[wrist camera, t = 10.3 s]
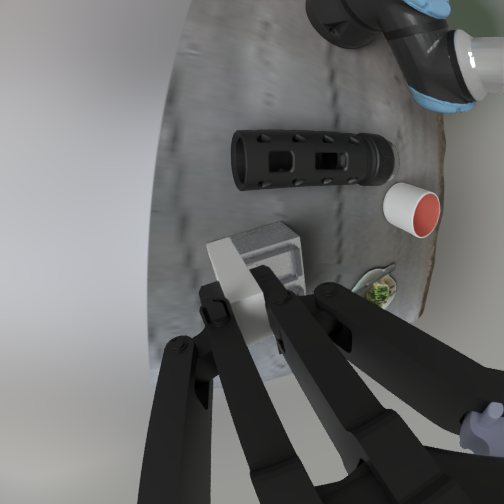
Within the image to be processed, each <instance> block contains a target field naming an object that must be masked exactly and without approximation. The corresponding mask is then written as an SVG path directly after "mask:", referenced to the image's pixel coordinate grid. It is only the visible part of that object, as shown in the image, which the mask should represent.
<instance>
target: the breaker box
mask: <svg viewBox="0 0 504 504" xmlns="http://www.w3.org/2000/svg"><path fill="white" fill-rule="evenodd" d="M225 238H227V237H225ZM229 238H230V240H231V241H232V243H233V244H234V246H235V248H236V249H237V251H238V253H239V254H240V256H241V258H242V259H243V261H244V263H245V264H246V266H249V265H252V264H256V266H257V267H258V266H260V265H265V266H267V267H270V268H271V270H272V271H273V272H274V274H275V275H276V276H277V278H278V279H279V280H280V282H281V283H282V284H283V285H284V287H285V288H286V289H287V290H290V291H292V292H294V293H295V294H296V295H298V296H304V295H306V289H305V279H304V269H303V260H302V251H301V242H300V236H298V235H297V234H296V233H295V232H293V231H292V230H291V229H290V228H288V227H287V226H286V225H284V224H283V223H282V222H281V221H280V222H277V223H273V224H270V225H266V226H263V227H259V228H256V229H252V230H249V231H246V232H242V233H239V234H235V235H232V236H229ZM222 239H224V238H222ZM219 240H221V239H219ZM215 241H218V240H215ZM215 241H212V242H215ZM212 242H209V243H212ZM209 243H206V244H209ZM209 257H210V256H209ZM210 260H211V259H210ZM211 264H212V262H211ZM212 267H213V265H212ZM213 271H214V268H213ZM214 274H215V271H214ZM215 278H216V281H218V280H217V277H216V274H215Z"/></svg>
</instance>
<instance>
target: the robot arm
mask: <svg viewBox="0 0 504 504" xmlns="http://www.w3.org/2000/svg"><path fill="white" fill-rule="evenodd" d="M448 3H449V0H306V12H307V16H308V18H309V20H310V22H311V24H312V25H313V27H314V28H315V29H316V30H317V32H318V33H319V34H320V35H321V36H322V37H324V38H325V39H326V40H328V41H329V42H331V43H333V44H335V45H337V46H339V47H343V48H348V49H353V48H358V47H361V46H364V45H366V44H368V43H370V42H371V41H372V40H373V39H374V38H375V37H376V36H377V35H378V34H379V33H380V32H381V31H382V32H383V34H384V36H385V37H386V39H387V41H388V43H389V45H390V47H391V49H392V51H393V53H394V55H395V57H396V59H397V62H398V64H399V66H400V68H401V70H402V73H403V75H404V77H405V83H406V85H407V86H408V87H409V89H410V91H411V93H412V96H413V98H414V100H415V101H416V102H417V103H418V104H419V105H420V106H422V107H423V108H425V109H428V110H431V111H435V112H441V113H455V112H457V111H458V112H465V111H469V110H471V109H472V108H473V107H474V106H475V105H476V101H482V100H483V99H484V98H485V96H486V95H487V93H488V92H493V93H504V37H484V38H473V37H471V36H469V35H468V34H467V33H465V32H464V31H463V30H450V28H449V26H448V24H447V21H446V19H445V18H446V17H447V16H448V15H449V14H450V5H449V4H448ZM206 247H207V250H208V253H209V256H210V259H211V262H212V265H213V268H214V271H215V274H216V277H217V280H218V281H216V282H213V283H210V284H207V285H204V286H201V288H200V291H199V296H200V299H201V304H202V305H201V307H200V311H199V312H200V314H201V317H202V319H203V321H204V324H205V328H204V329H203V331H202V332H201V333H200V334H198V335H197V336H195V337H193V338H191V337H189V336H178V337H175V338H173V339H171V340H170V341H169V342H168V343H167V344H166V347H165V349H164V353H163V358H162V362H161V367H160V371H159V376H158V381H157V385H156V390H155V395H154V400H153V405H152V410H151V416H150V421H149V427H148V432H147V438H146V444H145V451H144V457H143V463H142V470H141V478H140V485H139V493H138V502H137V504H210V486H211V485H210V482H211V476H210V475H211V429H212V428H211V427H212V400H213V378H214V377H216V376H217V375H219V377H220V380H221V383H222V387H223V390H224V393H225V396H226V400H227V403H228V406H229V410H230V413H231V416H232V419H233V422H234V425H235V428H236V431H237V434H238V436H239V440H240V443H241V446H242V448H243V451H244V454H245V457H246V460H247V462H248V465H249V468H250V477H251V481H252V483H253V486H254V489H255V491H256V494H257V497H258V499H259V502H260V504H504V371H501V370H496V369H491V368H486V367H484V366H482V365H480V364H478V363H477V362H475V361H474V360H472V359H470V358H468V357H467V356H465V355H463V354H461V353H460V352H458V351H456V350H455V349H453V348H451V347H449V346H448V345H446V344H444V343H443V342H441V341H439V340H437V339H436V338H434V337H432V336H430V335H429V334H427V333H425V332H423V331H422V330H420V329H418V328H416V327H415V326H413V325H411V324H409V323H408V322H406V321H404V320H402V319H401V318H399V317H397V316H395V315H393V314H392V313H390V312H388V311H386V310H385V309H383V308H381V307H379V306H377V305H376V304H374V303H372V302H370V301H369V300H367V299H365V298H363V297H361V296H360V295H358V294H356V293H354V292H352V291H351V290H349V289H347V288H345V287H343V286H342V285H340V284H337V283H335V282H326V283H322V284H320V285H318V286H317V287H316V288H315V290H314V294H311V295H304V296H298V295H296V294H295V293H294V292H292V291H290V290H287V289H286V288H285V287H284V285H283V284H282V283H281V282H280V280H279V279H278V278H277V276H276V275H275V274H274V272H273V271H272V270H271V268H270V267H267V266H265V265H260V266H258V267H255V268H252V269H248V267H247V266H246V264H245V263H244V261H243V259H242V258H241V256H240V254H239V253H238V251H237V249H236V248H235V246H234V244H233V243H232V241H231V240H230V238H229V237H227V238H224V239H221V240H218V241H215V242H212V243H209V244H206ZM272 331H273V333H274V335H275V337H276V341H277V346H278V350H279V354H283V356H284V357H285V359H286V361H287V363H288V365H289V366H290V368H291V370H292V372H293V374H294V375H295V377H296V379H297V381H298V383H299V384H300V386H301V388H302V390H303V391H304V393H305V395H306V397H307V399H308V400H309V402H310V404H311V405H312V407H313V409H314V411H315V413H316V414H317V416H318V418H319V420H320V421H321V423H322V425H323V427H324V428H325V430H326V432H327V433H328V435H329V437H330V439H331V440H332V442H333V443H334V446H335V447H336V449H337V451H338V452H339V454H340V456H341V458H342V461H343V463H344V466H345V469H346V471H347V473H348V476H347V477H346V478H344V479H343V480H341V481H338V482H334V483H329V484H325V485H320V486H315V487H314V486H313V484H312V482H311V480H310V478H309V476H308V474H307V472H306V470H305V468H304V466H303V464H302V462H301V460H300V459H299V457H298V456H297V454H296V452H295V450H294V448H293V446H292V444H291V442H290V440H289V438H288V436H287V434H286V432H285V430H284V428H283V425H282V423H281V421H280V419H279V417H278V415H277V412H276V410H275V408H274V406H273V404H272V402H271V399H270V397H269V395H268V393H267V391H266V388H265V386H264V384H263V382H262V379H261V377H260V375H259V373H258V370H257V368H256V366H255V364H254V361H253V359H252V357H251V354H250V352H249V350H248V346H250V345H253V344H256V343H259V342H261V341H264V340H267V339H269V338H272V337H273V333H272ZM347 360H348V361H350V362H351V363H352V364H354V365H355V366H356V367H358V368H359V369H361V370H362V371H363V372H365V373H366V374H367V375H368V376H370V377H371V378H372V379H374V380H375V381H376V382H378V383H379V384H380V385H382V386H383V387H385V388H386V389H387V390H388V391H390V392H391V393H393V394H394V395H395V396H397V397H398V398H399V399H401V400H402V401H404V402H405V403H406V404H408V405H409V406H411V407H412V408H413V409H415V410H416V411H417V412H419V413H420V414H422V415H423V416H424V417H426V418H427V419H429V420H430V421H432V422H433V423H435V424H436V425H438V426H439V427H441V428H443V429H445V430H447V431H449V432H451V433H454V434H457V435H460V446H461V447H462V448H464V449H470V450H472V451H473V452H474V454H467V453H462V452H455V451H450V450H444V449H439V448H434V447H429V446H423V445H422V444H421V442H420V441H419V440H418V438H417V437H416V436H415V435H414V433H413V432H412V431H411V429H410V428H409V427H408V426H407V424H406V423H405V422H404V420H403V419H402V418H401V417H400V415H399V414H398V413H397V412H396V411H394V410H392V409H385V408H384V407H383V406H382V405H381V404H380V402H379V401H378V400H377V399H376V397H375V396H374V395H373V393H372V392H371V391H370V389H369V388H368V387H367V385H366V384H365V383H364V382H363V380H362V379H361V378H360V376H359V375H358V374H357V372H356V371H355V370H354V369H353V367H352V366H351V365H350V363H349V362H348V361H347Z"/></svg>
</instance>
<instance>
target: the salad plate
mask: <svg viewBox="0 0 504 504" xmlns="http://www.w3.org/2000/svg"><path fill="white" fill-rule="evenodd" d="M394 269H395V265H394V264H392V265H390V266H389V267H387V268H385V269H379V268H377V269H374V270H371V271H368V272H367V273H366V274H364V275H363V276H362V277H361V278H360V280H359V281H358V282H357V283H356V285H355V286H354V287H353V288H352V289H351V291H352V292H354V293H356V294H358V295H360V296H361V297H363V298H365V299H367V300H369V301H370V302H372V303H374V304H376V305H377V306H379V307H381V308H383V309H386V308H387V307H388V305H389V304H390V303H391V301H392V300H393V298H394V296H395V293H396V283H395V281H394V280H393V279H392V278H391V277H390V276H389V273H390V272H392V271H393V270H394ZM379 304H380V305H379Z"/></svg>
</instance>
